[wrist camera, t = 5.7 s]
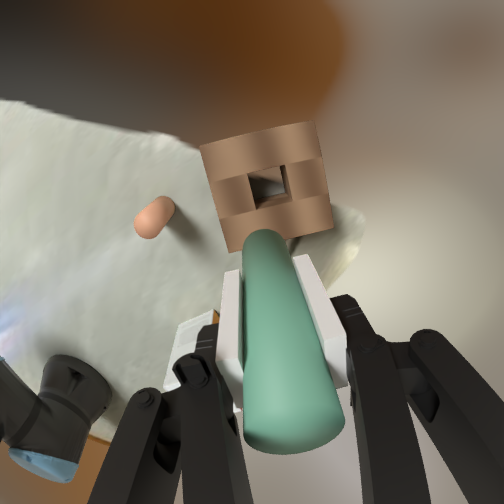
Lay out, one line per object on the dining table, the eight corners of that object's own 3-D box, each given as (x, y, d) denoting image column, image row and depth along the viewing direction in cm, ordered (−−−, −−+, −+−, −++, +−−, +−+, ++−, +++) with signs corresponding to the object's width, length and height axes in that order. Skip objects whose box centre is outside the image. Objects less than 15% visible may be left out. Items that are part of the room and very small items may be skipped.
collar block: (229, 238, 37) (229, 253, 32) (204, 145, 33) (198, 146, 28) (322, 216, 37) (334, 227, 32) (303, 122, 32) (313, 120, 27)
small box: (241, 345, 44) (243, 411, 32) (206, 359, 44) (200, 424, 32) (214, 307, 41) (207, 372, 29) (177, 323, 42) (160, 388, 30)
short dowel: (156, 222, 36) (139, 242, 29) (148, 200, 35) (129, 215, 28) (178, 215, 36) (165, 234, 29) (170, 193, 34) (155, 207, 28)
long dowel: (248, 273, 21) (255, 459, 8) (237, 234, 20) (231, 414, 7) (289, 264, 21) (344, 442, 8) (281, 224, 20) (345, 392, 7)
